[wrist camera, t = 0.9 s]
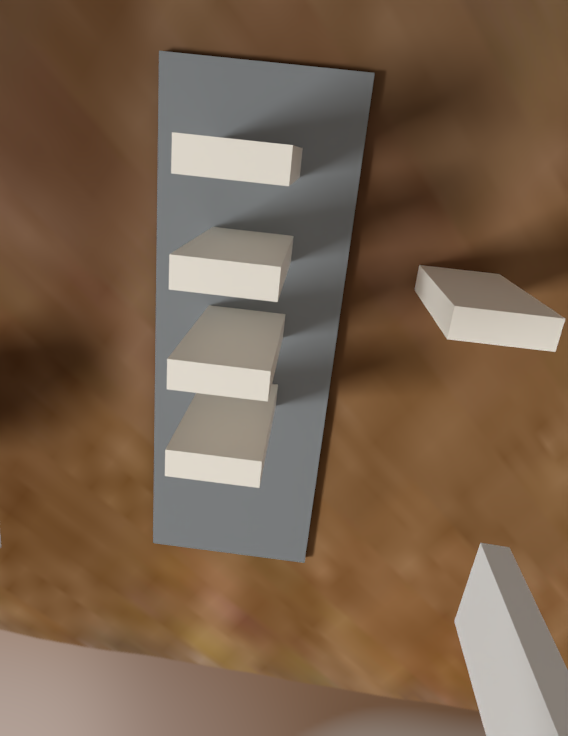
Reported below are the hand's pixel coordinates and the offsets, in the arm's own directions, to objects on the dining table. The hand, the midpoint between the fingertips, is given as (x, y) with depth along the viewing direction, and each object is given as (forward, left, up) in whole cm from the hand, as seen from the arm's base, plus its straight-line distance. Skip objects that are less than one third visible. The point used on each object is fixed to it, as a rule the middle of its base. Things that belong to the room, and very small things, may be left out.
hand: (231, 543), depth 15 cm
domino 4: (+6, -3, -22) cm, 23 cm away
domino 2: (-4, -3, -22) cm, 23 cm away
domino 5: (-3, +10, -23) cm, 25 cm away
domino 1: (-9, -3, -22) cm, 24 cm away
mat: (+3, -3, -23) cm, 23 cm away
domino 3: (+1, -3, -22) cm, 22 cm away
